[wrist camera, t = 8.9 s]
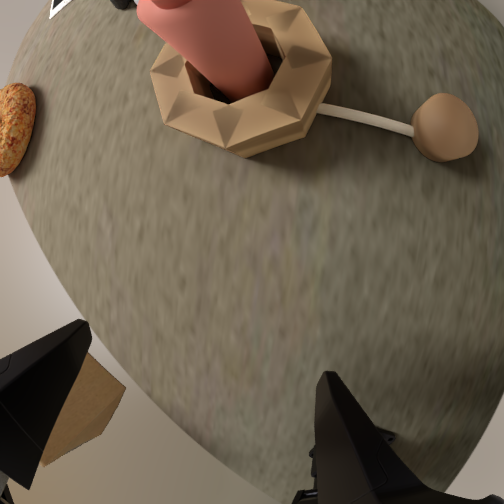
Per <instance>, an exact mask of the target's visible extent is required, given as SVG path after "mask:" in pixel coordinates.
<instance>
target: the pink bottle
mask: <svg viewBox="0 0 504 504" xmlns="http://www.w3.org/2000/svg"><path fill="white" fill-rule="evenodd" d="M137 15H138V18H139V19H140V21H141V22H143V23H144V24H145V25H146V26H148V27H149V28H150V29H151V30H152V31H154V32H155V33H156V34H157V35H159V36H160V37H161V38H162V39H163V40H164V41H166V42H167V43H168V44H169V45H170V46H172V47H173V48H174V49H175V50H176V51H177V52H178V53H180V54H181V55H182V56H183V57H184V58H185V59H186V60H187V61H189V62H190V63H191V64H192V65H193V66H194V67H195V68H196V69H197V70H198V71H199V72H201V73H202V74H203V75H204V76H205V77H206V78H207V79H208V80H209V81H210V82H211V83H212V84H213V85H214V86H215V87H216V88H217V89H218V90H219V91H220V92H222V93H223V94H224V95H225V96H226V97H227V98H228V99H229V100H230V101H231V102H232V103H234V102H236V101H239V100H241V99H243V98H246V97H248V96H251V95H254V94H256V93H259V92H262V91H264V90H267V89H269V87H270V85H271V83H272V81H273V79H274V77H275V74H274V72H273V70H272V67H271V65H270V63H269V60H268V58H267V56H266V53H265V51H264V49H263V47H262V44H261V42H260V40H259V38H258V36H257V33H256V31H255V29H254V27H253V25H252V23H251V21H250V19H249V17H248V15H247V13H246V11H245V9H244V7H243V5H242V3H241V1H240V0H139V2H138V5H137Z"/></svg>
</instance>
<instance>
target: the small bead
mask: <svg viewBox="0 0 504 504" xmlns="http://www.w3.org/2000/svg"><path fill="white" fill-rule="evenodd" d="M410 125H411V126H413V129H414V137H412V140H413V142H414V144H415V146H416V147H417V149H418V150H419V151H420V152H421V153H422V154H423V155H424V156H425V157H426V158H428V159H430V160H432V161H435V162H447V161H451V160H454V159H458V158H461V157H465V156H467V155H469V154H470V153H472V152H473V150H474V149H475V147H476V145H477V142H478V126H477V122H476V119H475V117H474V115H473V113H472V112H471V110H470V109H469V107H468V106H467V105H466V104H465V103H464V102H463V101H462V100H460V99H459V98H457V97H455V96H453V95H451V94H447V93H439V94H435V95H433V96H432V97H430V98H429V99H428V100H427V101H426V102H425V103H424V104H423V105H422V106H421V107H420V108H419V109H417V110H416V111H415V113H414V114H413V116H412V118H411V122H410Z"/></svg>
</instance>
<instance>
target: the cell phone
mask: <svg viewBox="0 0 504 504" xmlns="http://www.w3.org/2000/svg"><path fill="white" fill-rule="evenodd" d="M71 1H72V0H52V5H51V11H50V18H49V19H52V18H53V17H54V16H55V15H56V14H57V13H59V12H60V11H61V10H62V9H63V8H64V7H65V6H66V5H68V4H69V3H70V2H71Z"/></svg>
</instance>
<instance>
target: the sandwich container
mask: <svg viewBox="0 0 504 504" xmlns="http://www.w3.org/2000/svg"><path fill="white" fill-rule="evenodd" d="M125 390H126V387H125V386H124V385H123V384H122V383H120V382H119V381H118V380H117V379H116V378H115V377H114V376H113V375H112V374H111V373H109V372H108V371H107V370H106V369H105V368H104V367H103V366H102V365H101V364H100V363H99V362H98V361H97V360H96V359H94V357H93V356H92V355H91V354H90V353H89V352H87V354H86V357H85V359H84V362H83V365H82V367H81V370H80V372H79V374H78V376H77V378H76V380H75V382H74V384H73V386H72V389H71V391H70V393H69V395H68V397H67V399H66V401H65V403H64V405H63V407H62V410H61V412H60V414H59V416H58V418H57V421H56V423H55V425H54V427H53V430H52V432H51V434H50V437H49V439H48V442H47V444H46V446H45V449H44V451H43V454H42V457H41V460H40V462H39V464H40V465H41V466H42V467H45V466H47V465H48V464H50V463H52V462H53V461H55V460H56V459H58V458H59V457H61V456H63V455H65V454H66V453H68V452H70V451H71V450H74V449H76V448H77V447H79V446H81V445H82V444H84V443H86V442H88V441H90V440H92V439H93V438H95V437H97V436H99V435H101V434H102V432H103V431H104V429H105V428H106V426H107V424H108V423H109V421H110V420H111V418H112V416H113V414H114V412H115V410H116V408H117V407H118V405H119V403H120V401H121V398H122V396H123V394H124V392H125Z"/></svg>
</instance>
